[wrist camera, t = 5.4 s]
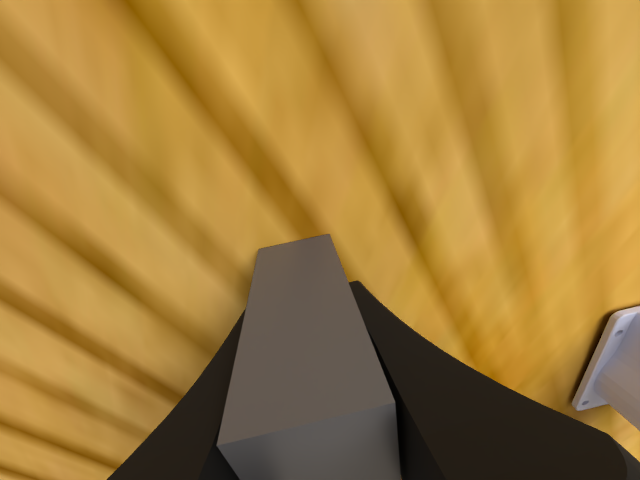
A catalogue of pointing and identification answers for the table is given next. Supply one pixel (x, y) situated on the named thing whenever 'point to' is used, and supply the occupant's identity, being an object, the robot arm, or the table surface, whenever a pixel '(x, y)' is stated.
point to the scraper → (307, 376)
